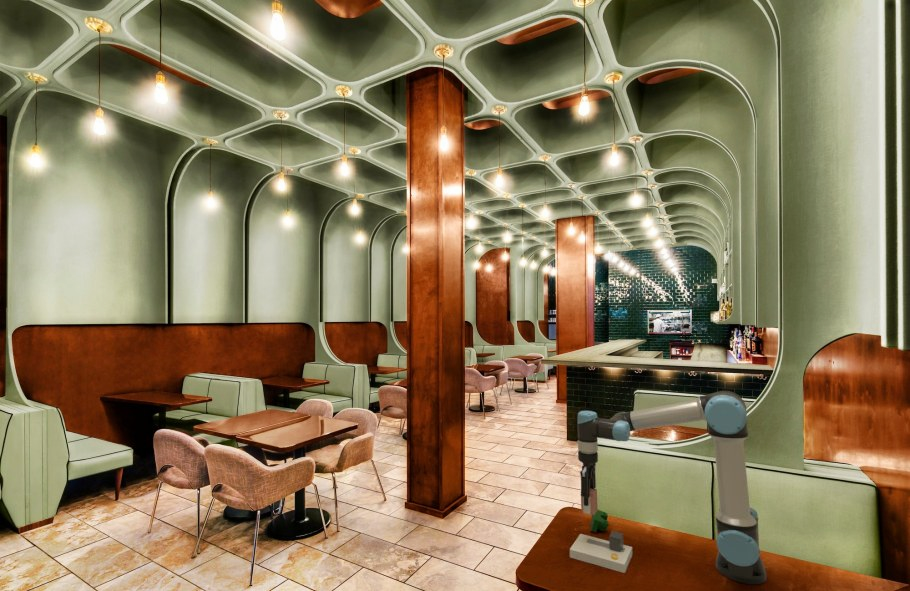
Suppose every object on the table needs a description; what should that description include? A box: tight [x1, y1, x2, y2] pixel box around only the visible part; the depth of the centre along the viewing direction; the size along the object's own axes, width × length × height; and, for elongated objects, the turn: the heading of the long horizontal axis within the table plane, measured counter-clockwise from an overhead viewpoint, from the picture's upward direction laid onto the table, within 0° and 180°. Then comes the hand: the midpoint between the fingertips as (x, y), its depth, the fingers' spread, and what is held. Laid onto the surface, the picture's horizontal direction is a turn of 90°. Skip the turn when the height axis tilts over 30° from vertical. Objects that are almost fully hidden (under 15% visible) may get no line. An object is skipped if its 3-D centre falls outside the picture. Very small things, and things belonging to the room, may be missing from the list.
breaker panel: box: [569, 533, 633, 574], centre depth 169 cm, size 20×14×4 cm
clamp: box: [590, 509, 609, 533], centre depth 191 cm, size 12×6×9 cm, turn 158°
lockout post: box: [580, 488, 599, 516], centre depth 175 cm, size 5×5×8 cm
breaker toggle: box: [608, 530, 624, 552], centre depth 169 cm, size 4×5×5 cm
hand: (589, 510), depth 175 cm, fingers closed on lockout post, 5 cm apart
